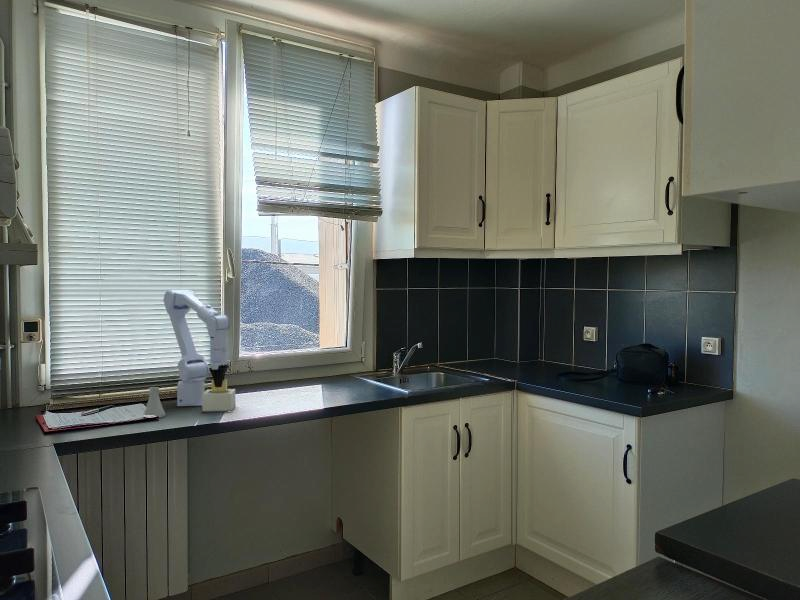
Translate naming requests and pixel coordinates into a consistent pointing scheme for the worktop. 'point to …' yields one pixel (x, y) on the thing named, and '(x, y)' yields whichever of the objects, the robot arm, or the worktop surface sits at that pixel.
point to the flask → (154, 404)
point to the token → (220, 389)
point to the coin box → (218, 401)
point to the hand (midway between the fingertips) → (219, 386)
